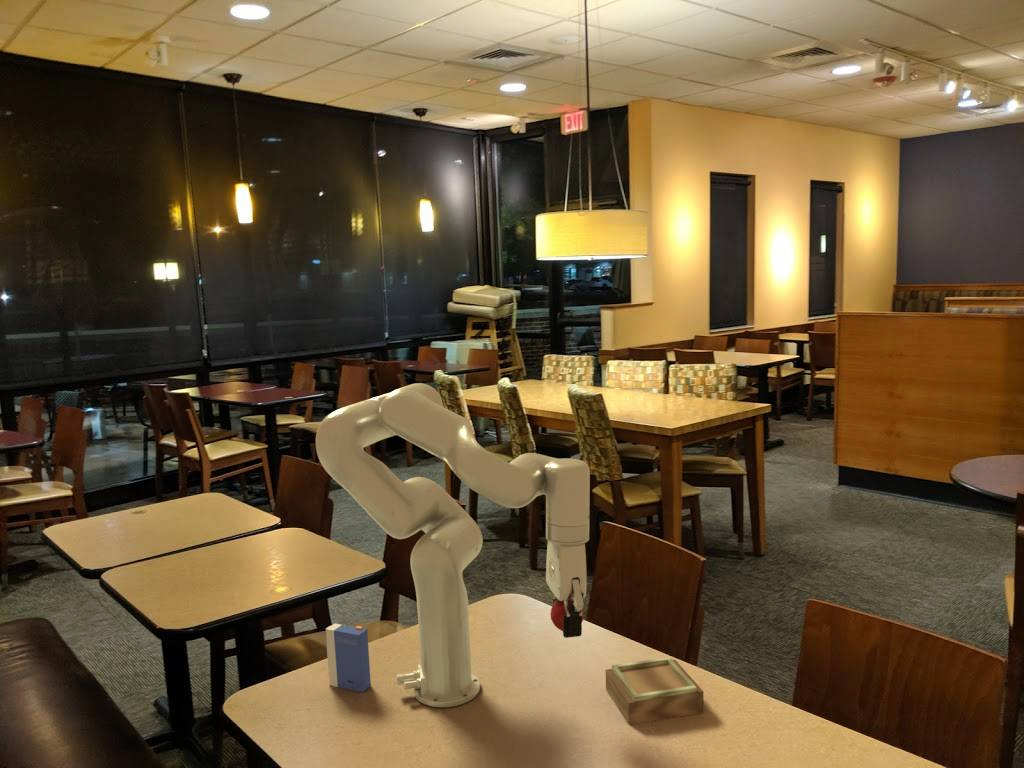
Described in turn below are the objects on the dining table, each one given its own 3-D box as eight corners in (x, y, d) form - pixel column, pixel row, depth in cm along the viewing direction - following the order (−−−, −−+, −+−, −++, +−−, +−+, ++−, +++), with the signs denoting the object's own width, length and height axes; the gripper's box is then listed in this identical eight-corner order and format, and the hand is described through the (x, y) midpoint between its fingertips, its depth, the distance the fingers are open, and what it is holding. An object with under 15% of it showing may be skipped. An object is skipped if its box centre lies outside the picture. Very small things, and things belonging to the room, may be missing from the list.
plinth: (628, 724, 137) (628, 698, 136) (605, 689, 149) (605, 665, 148) (703, 712, 140) (703, 687, 139) (675, 679, 151) (675, 655, 151)
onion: (556, 642, 137) (556, 599, 136) (546, 628, 142) (546, 586, 141) (588, 638, 138) (588, 595, 137) (576, 624, 144) (577, 582, 143)
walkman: (371, 685, 153) (367, 627, 151) (362, 692, 150) (358, 633, 149) (337, 678, 156) (333, 621, 154) (329, 685, 154) (324, 627, 152)
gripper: (534, 516, 145) (534, 609, 148) (560, 549, 128) (559, 653, 131) (573, 513, 146) (573, 605, 149) (604, 545, 130) (602, 648, 133)
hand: (566, 626), depth 140 cm, fingers closed on onion, 5 cm apart
